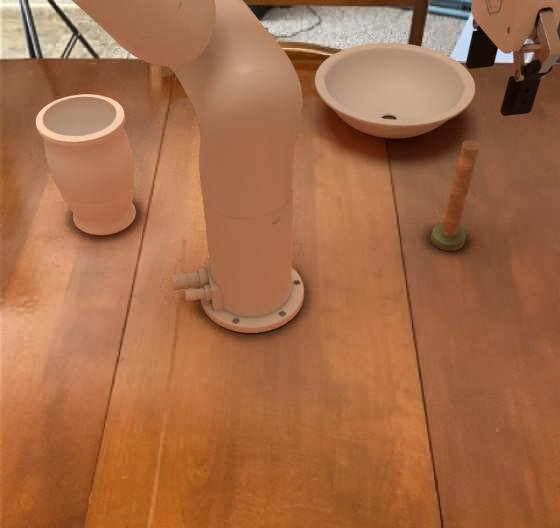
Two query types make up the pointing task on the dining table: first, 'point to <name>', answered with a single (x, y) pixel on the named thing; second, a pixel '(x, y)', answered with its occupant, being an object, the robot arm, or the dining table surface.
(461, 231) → the stamp with round base
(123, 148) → the jar
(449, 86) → the beige sink basin
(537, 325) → the dining table surface
